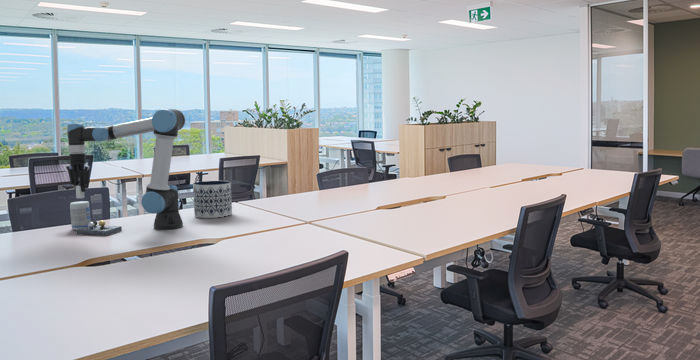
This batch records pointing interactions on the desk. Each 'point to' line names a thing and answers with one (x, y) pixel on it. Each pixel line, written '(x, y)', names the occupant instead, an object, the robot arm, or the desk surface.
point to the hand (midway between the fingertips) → (80, 198)
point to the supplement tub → (80, 214)
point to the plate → (99, 230)
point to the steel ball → (91, 225)
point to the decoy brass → (101, 223)
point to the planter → (212, 199)
